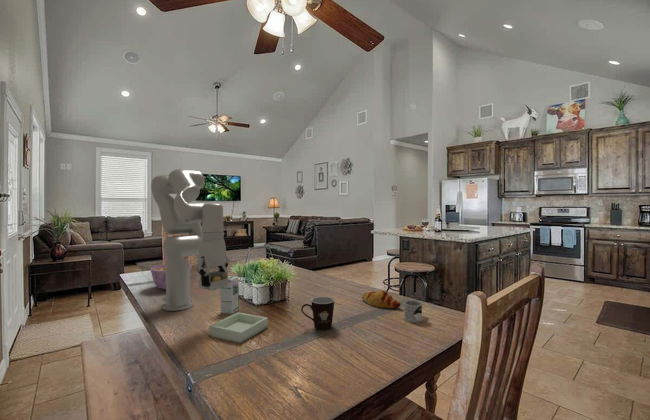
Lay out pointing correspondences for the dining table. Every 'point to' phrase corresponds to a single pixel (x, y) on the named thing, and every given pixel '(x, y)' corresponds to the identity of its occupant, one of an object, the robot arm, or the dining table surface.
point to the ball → (216, 278)
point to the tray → (238, 327)
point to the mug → (413, 311)
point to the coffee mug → (321, 312)
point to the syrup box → (230, 296)
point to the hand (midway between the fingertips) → (213, 283)
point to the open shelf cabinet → (217, 284)
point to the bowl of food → (160, 276)
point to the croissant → (380, 299)
